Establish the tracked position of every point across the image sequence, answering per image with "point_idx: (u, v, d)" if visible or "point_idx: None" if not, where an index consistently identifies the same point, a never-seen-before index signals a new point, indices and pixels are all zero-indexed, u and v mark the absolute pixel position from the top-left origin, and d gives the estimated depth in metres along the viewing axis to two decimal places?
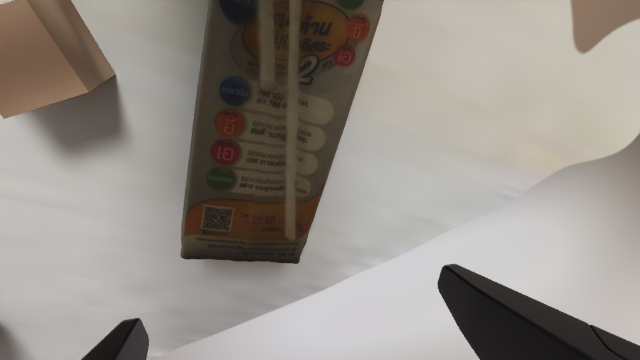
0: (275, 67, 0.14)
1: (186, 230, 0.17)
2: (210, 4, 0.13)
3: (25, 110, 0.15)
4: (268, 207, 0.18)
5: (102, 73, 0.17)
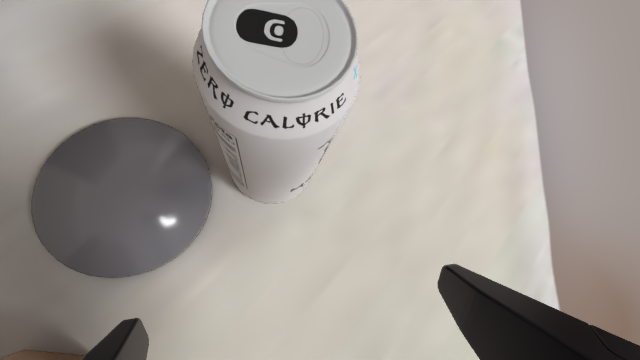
0: None
1: None
2: None
3: None
4: None
5: None
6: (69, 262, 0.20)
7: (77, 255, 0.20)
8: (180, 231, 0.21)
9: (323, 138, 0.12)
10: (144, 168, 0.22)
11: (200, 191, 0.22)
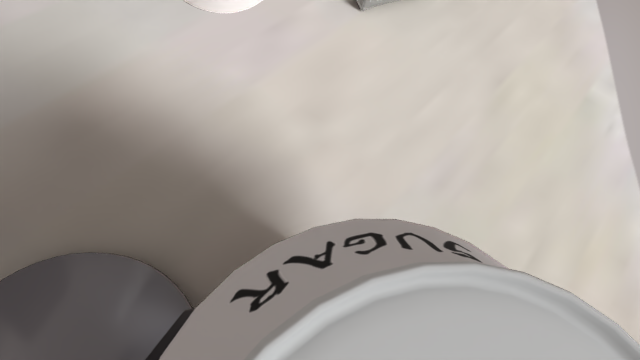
0: None
1: None
2: None
3: None
4: None
5: None
6: None
7: None
8: None
9: None
10: (98, 337, 0.14)
11: None
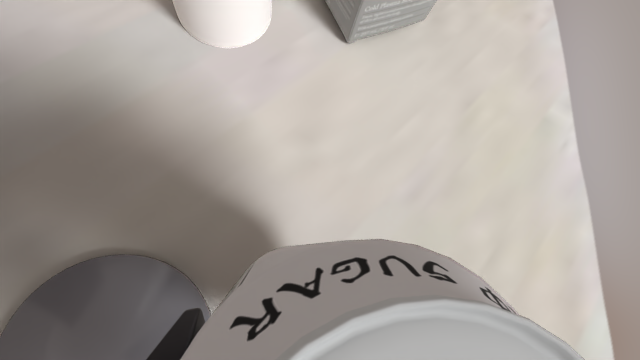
0: None
1: None
2: None
3: None
4: None
5: None
6: None
7: None
8: None
9: None
10: (131, 322, 0.18)
11: None
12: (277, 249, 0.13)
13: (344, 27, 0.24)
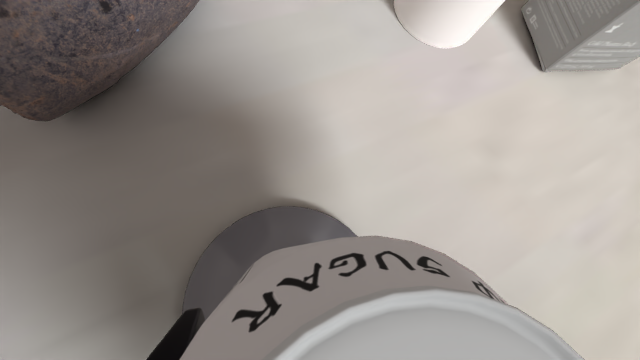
0: None
1: None
2: None
3: None
4: None
5: None
6: None
7: None
8: None
9: None
10: None
11: None
12: (276, 250, 0.13)
13: (548, 55, 0.24)
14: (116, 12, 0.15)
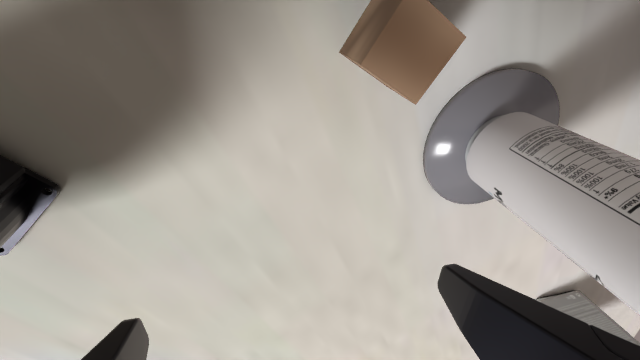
0: None
1: None
2: None
3: (452, 25, 0.15)
4: None
5: None
6: (472, 90, 0.21)
7: (473, 98, 0.21)
8: (441, 176, 0.24)
9: (622, 295, 0.14)
10: None
11: (459, 195, 0.26)
12: None
13: (550, 303, 0.38)
14: None
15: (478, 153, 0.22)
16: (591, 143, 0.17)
